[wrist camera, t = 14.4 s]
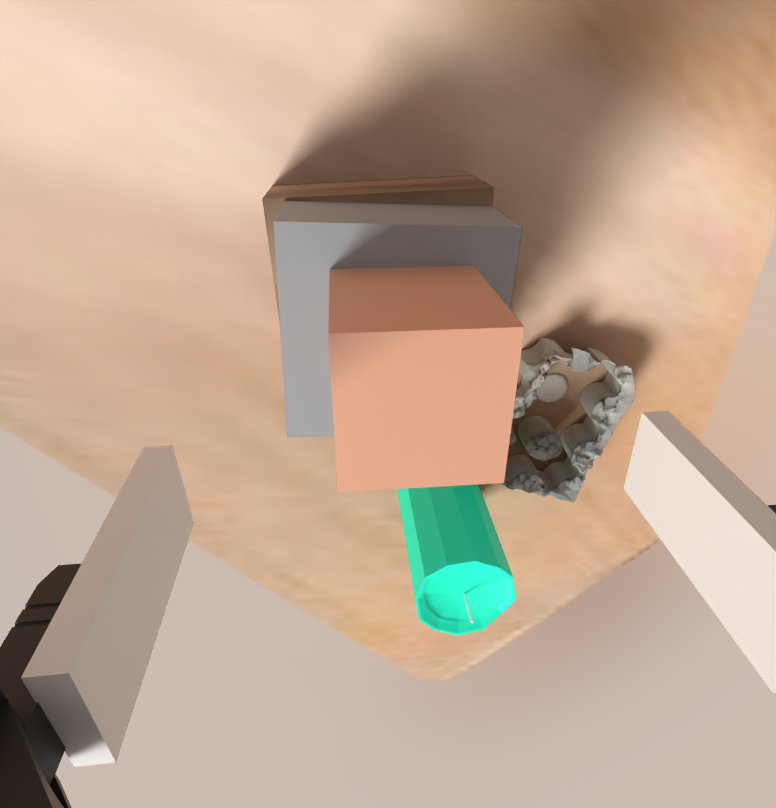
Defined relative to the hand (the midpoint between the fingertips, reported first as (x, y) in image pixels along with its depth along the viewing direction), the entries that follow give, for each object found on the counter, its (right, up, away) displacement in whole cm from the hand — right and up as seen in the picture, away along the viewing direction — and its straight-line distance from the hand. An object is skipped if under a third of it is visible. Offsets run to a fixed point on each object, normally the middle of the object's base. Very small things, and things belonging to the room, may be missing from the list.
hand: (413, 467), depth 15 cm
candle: (+3, -4, +25) cm, 26 cm away
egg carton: (+10, +2, +23) cm, 25 cm away
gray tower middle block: (-1, +7, +13) cm, 15 cm away
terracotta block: (0, +5, +8) cm, 10 cm away
